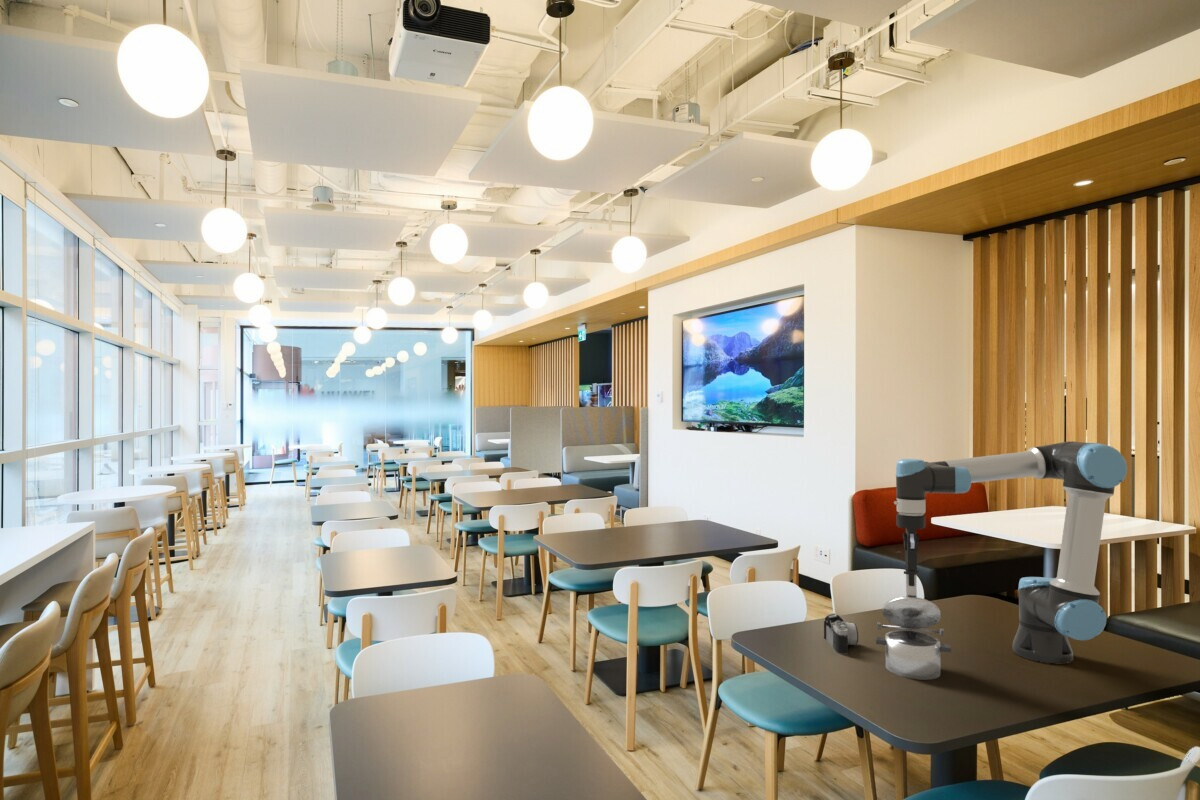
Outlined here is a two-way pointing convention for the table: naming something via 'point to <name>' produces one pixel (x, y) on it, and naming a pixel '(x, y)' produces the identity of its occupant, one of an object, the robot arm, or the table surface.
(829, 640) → the camera
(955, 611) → the table surface
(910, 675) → the pot
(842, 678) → the table surface
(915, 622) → the lid
